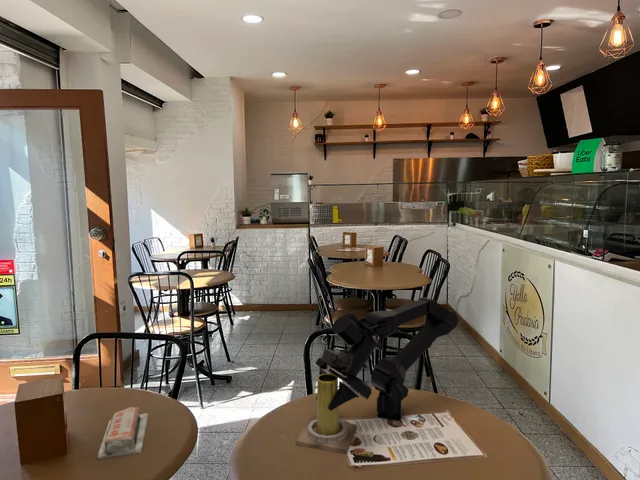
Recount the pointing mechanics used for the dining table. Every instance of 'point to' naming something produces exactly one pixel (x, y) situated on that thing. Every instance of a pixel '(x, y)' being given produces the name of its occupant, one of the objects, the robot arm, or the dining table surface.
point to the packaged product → (124, 434)
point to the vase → (327, 405)
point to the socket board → (327, 446)
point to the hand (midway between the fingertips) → (323, 405)
